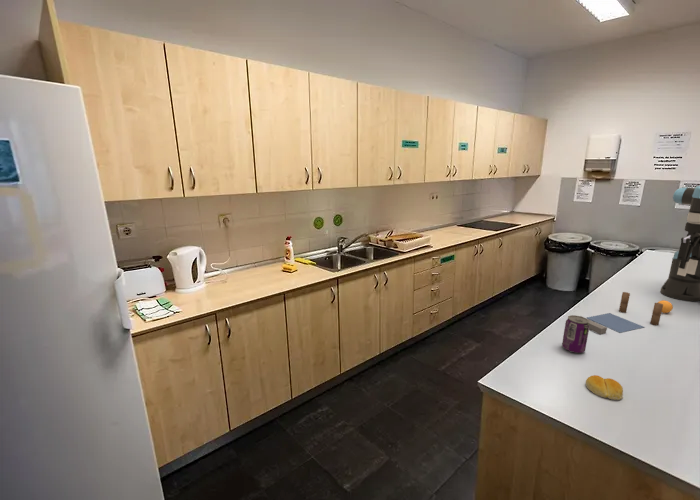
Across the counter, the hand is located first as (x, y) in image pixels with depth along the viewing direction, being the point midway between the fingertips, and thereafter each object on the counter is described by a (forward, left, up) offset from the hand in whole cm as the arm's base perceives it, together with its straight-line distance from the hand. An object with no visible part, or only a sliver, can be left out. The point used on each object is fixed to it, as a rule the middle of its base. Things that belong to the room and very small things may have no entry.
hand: (685, 274), depth 149 cm
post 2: (+26, +6, -17) cm, 31 cm away
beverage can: (+75, +10, -17) cm, 77 cm away
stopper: (+54, 0, -17) cm, 56 cm away
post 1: (+26, -6, -17) cm, 31 cm away
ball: (+10, 0, -14) cm, 17 cm away
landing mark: (+40, 0, -17) cm, 43 cm away
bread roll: (+87, +30, -17) cm, 93 cm away
